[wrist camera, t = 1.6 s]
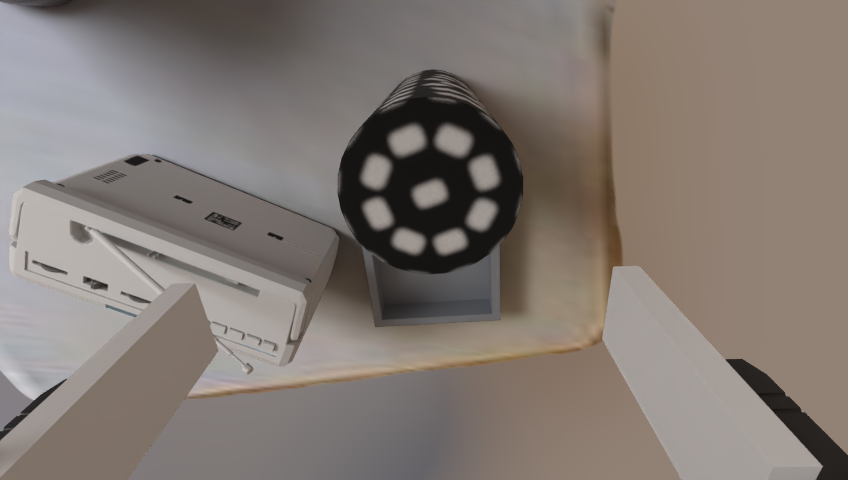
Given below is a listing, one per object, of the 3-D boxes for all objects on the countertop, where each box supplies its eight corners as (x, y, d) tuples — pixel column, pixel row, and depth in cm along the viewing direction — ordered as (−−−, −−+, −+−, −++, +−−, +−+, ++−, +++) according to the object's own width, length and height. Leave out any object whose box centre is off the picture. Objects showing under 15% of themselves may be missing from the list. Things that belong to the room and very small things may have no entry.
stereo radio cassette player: (126, 213, 41) (-114, 343, 23) (137, 137, 38) (-132, 221, 20) (325, 288, 45) (249, 455, 27) (351, 224, 41) (285, 365, 23)
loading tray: (362, 197, 40) (356, 211, 37) (494, 188, 39) (499, 201, 36) (379, 307, 45) (375, 326, 42) (495, 300, 45) (500, 320, 41)
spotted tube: (460, 53, 34) (488, 62, 16) (492, 146, 38) (545, 240, 19) (370, 93, 36) (303, 142, 18) (408, 179, 39) (384, 295, 21)
